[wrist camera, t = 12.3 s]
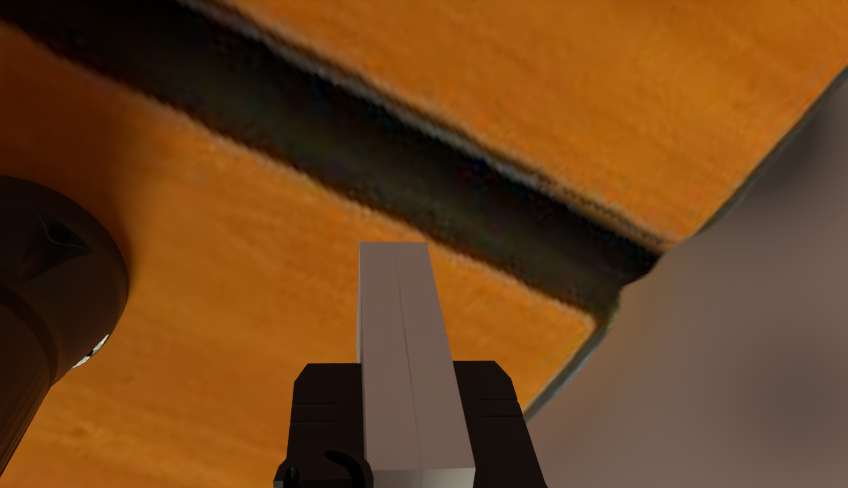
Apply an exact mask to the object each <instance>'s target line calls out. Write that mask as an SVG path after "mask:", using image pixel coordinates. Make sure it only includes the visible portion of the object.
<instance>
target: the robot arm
mask: <svg viewBox="0 0 848 488" xmlns="http://www.w3.org/2000/svg"><path fill="white" fill-rule="evenodd" d="M127 293H128V281H127V274H126V269H125V265H124V262H123V259H122V257H121V254H120V252H119V250H118V248H117V247H116V245H115V243H114V241H113V240H112V239H111V237H110V236H109V234H108V233H107V232H106V230H105V229H104V228H103V227H102V226H101V225H100V224H99V222H97V221H96V220H95V219H94V218H93V217H92V216H91V215H90V214H89V213H88V212H87V211H85V210H84V209H83V208H81V207H80V206H79V205H77V204H76V203H74V202H73V201H71V200H70V199H68V198H66V197H64V196H63V195H61V194H59V193H57V192H55V191H53V190H50V189H48V188H46V187H43V186H41V185H38V184H35V183H32V182H28V181H25V180H21V179H16V178H10V177H3V176H0V477H1V475H2V473H3V472H4V470H5V468H6V466H7V464H8V463H9V461H10V459H11V457H12V455H13V454H14V452H15V450H16V448H17V446H18V445H19V443H20V441H21V439H22V437H23V436H24V434H25V432H26V430H27V428H28V427H29V425H30V423H31V421H32V419H33V418H34V416H35V414H36V412H37V410H38V409H39V407H40V405H41V403H42V401H43V399H44V398H45V396H46V394H47V393H48V391H49V389H50V387H51V386H52V385H54V384H55V383H56V382H58V381H59V380H60V379H61V378H62V377H63V376H64V375H65V374H66V373H67V372H68V371H69V370H71V369H73V368H75V367H77V366H78V365H80V364H82V363H83V362H85V361H86V360H88V359H89V358H90V357H92V356H93V355H94V354H95V353H96V352H97V351H99V349H100V348H101V347H102V346H103V345H104V344H105V343H106V341H107V340H108V339H109V337H110V336H111V334H112V332H113V330H114V329H115V327H116V325H117V323H118V321H119V319H120V317H121V315H122V313H123V310H124V308H125V304H126V300H127ZM356 344H357V363H308V364H307V365H306V367H305V368H304V369H303V371H302V372H301V373H300V375H299V376H298V378H297V379H296V380H295V382H294V390H293V400H292V409H291V419H290V428H289V438H288V447H287V457H286V460H285V461H284V462H283V463H282V464H281V465H280V466H279V467H278V470H277V473H276V475H275V478H274V481H273V485H274V488H548V487H547V485H546V483H545V481H544V478H543V475H542V472H541V469H540V466H539V463H538V460H537V457H536V454H535V451H534V448H533V445H532V442H531V439H530V435H529V432H528V430H527V426H526V423H525V420H523V414H522V411H521V408H520V405H519V403H518V402H517V396H516V393H515V390H514V387H513V383H512V380H511V378H510V377H509V376H508V375H507V374H506V373H505V372H504V370H503V369H502V368H501V367H500V366H499V365H498V364H497V363H496V362H495V361H452V357H451V353H450V348H449V344H448V339H447V334H446V330H445V325H444V321H443V316H442V311H441V307H440V302H439V298H438V293H437V289H436V284H435V279H434V275H433V270H432V266H431V261H430V256H429V252H428V247H427V243H413V242H360V243H359V275H358V307H357V339H356Z"/></svg>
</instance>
